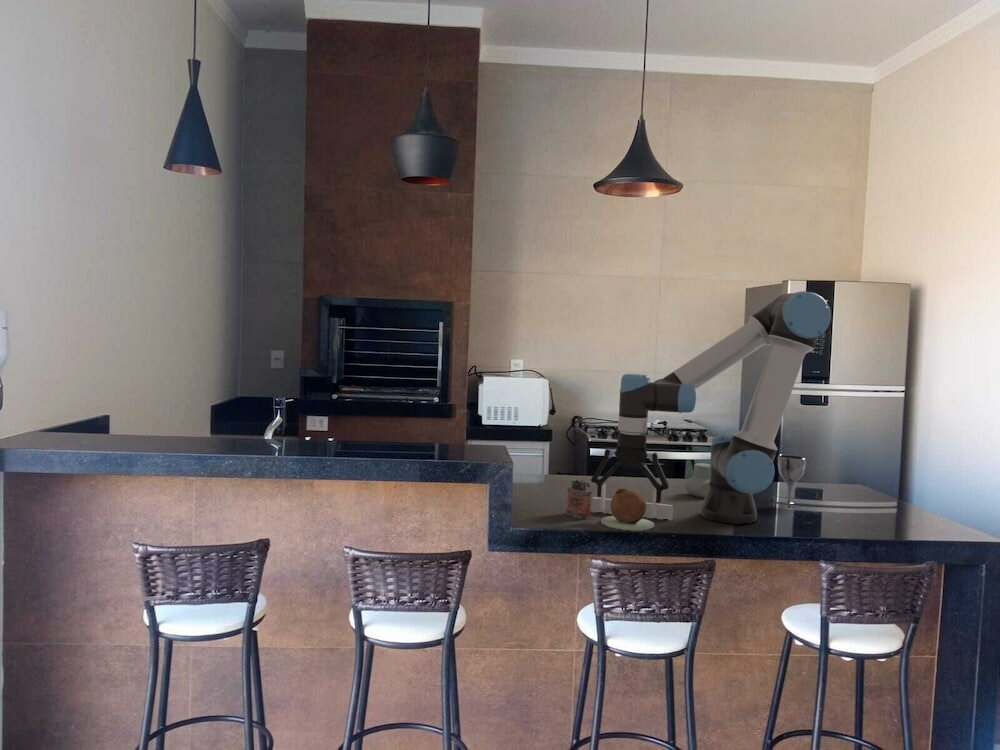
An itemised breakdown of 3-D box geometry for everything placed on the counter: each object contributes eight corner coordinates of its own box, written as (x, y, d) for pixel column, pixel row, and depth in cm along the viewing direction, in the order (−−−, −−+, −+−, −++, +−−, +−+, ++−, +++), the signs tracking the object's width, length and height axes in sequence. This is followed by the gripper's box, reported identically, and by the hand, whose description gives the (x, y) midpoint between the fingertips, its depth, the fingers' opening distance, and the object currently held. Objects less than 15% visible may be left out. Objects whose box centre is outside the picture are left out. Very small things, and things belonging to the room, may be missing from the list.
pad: (656, 520, 214) (656, 519, 214) (651, 533, 201) (651, 531, 201) (604, 515, 218) (605, 513, 218) (597, 527, 205) (597, 525, 205)
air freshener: (708, 492, 256) (709, 462, 255) (724, 498, 248) (726, 466, 247) (679, 493, 252) (681, 462, 251) (694, 499, 244) (696, 467, 243)
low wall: (672, 519, 217) (672, 505, 216) (671, 520, 215) (672, 506, 215) (592, 511, 223) (593, 497, 222) (591, 512, 221) (592, 497, 221)
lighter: (563, 513, 218) (565, 477, 217) (572, 512, 220) (573, 476, 220) (584, 519, 212) (586, 483, 211) (593, 518, 214) (594, 482, 214)
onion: (612, 532, 210) (597, 497, 210) (635, 518, 215) (620, 484, 216) (637, 527, 202) (621, 491, 203) (659, 513, 208) (644, 478, 209)
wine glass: (803, 509, 237) (806, 459, 236) (775, 506, 239) (778, 457, 238) (802, 503, 244) (805, 455, 243) (775, 500, 247) (778, 453, 246)
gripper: (681, 434, 208) (676, 513, 209) (587, 427, 215) (583, 504, 216) (679, 438, 201) (675, 520, 202) (583, 430, 208) (579, 510, 209)
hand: (628, 512), depth 209 cm, fingers open, 13 cm apart
